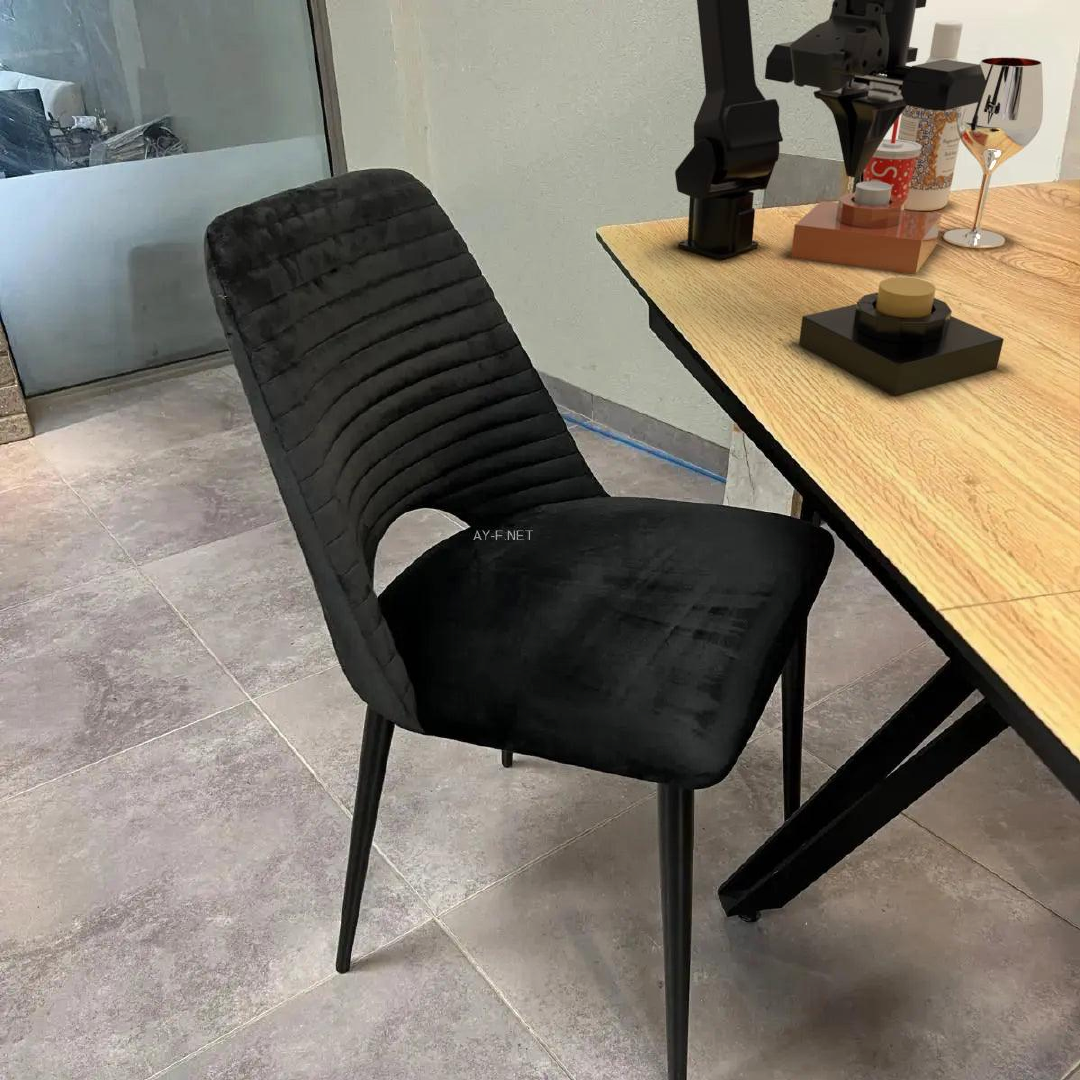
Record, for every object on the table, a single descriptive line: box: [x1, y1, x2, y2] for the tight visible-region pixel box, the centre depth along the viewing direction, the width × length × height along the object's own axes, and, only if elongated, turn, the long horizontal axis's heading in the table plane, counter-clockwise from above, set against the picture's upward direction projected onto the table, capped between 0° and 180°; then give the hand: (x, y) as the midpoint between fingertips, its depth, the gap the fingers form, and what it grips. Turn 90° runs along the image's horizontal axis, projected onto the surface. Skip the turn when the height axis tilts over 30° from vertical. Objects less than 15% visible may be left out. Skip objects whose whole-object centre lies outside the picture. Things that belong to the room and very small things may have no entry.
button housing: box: [790, 192, 942, 275], centre depth 109 cm, size 13×10×6 cm
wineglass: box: [942, 56, 1044, 249], centre depth 108 cm, size 8×8×18 cm
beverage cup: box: [862, 116, 921, 210], centre depth 114 cm, size 6×6×14 cm
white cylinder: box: [854, 181, 892, 206], centre depth 107 cm, size 4×4×2 cm
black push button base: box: [798, 291, 1005, 397], centre depth 86 cm, size 12×11×4 cm
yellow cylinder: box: [876, 276, 937, 318], centre depth 85 cm, size 4×4×2 cm
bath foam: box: [897, 20, 964, 212], centre depth 120 cm, size 7×7×20 cm
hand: (853, 176), depth 92 cm, fingers closed
